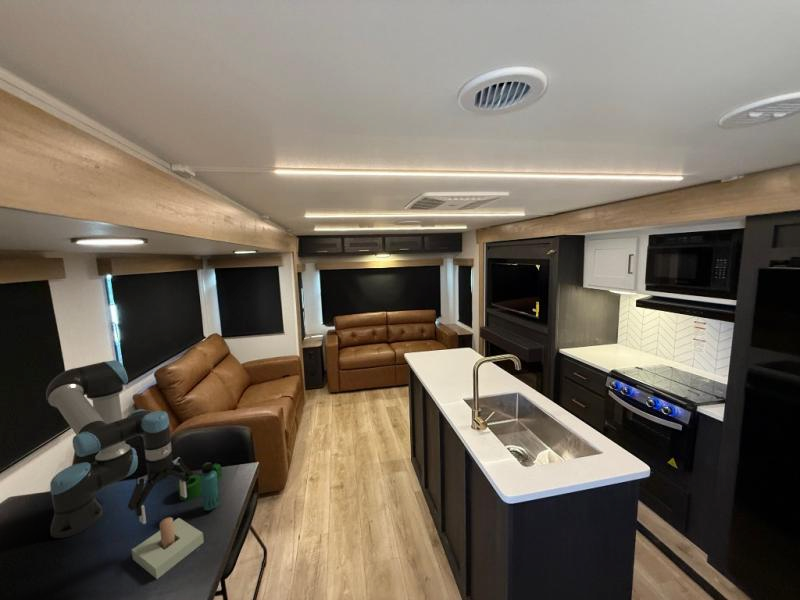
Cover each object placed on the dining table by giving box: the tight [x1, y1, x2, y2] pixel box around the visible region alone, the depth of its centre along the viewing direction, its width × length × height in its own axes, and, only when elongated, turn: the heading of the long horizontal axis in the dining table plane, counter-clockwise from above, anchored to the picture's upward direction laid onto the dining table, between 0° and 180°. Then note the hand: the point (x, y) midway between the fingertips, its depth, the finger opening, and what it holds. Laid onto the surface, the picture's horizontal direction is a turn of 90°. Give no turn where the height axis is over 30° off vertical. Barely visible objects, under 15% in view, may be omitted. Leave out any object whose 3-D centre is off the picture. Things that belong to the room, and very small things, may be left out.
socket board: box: [131, 517, 204, 580], centre depth 119 cm, size 16×16×4 cm
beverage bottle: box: [200, 463, 220, 511], centre depth 138 cm, size 6×7×20 cm
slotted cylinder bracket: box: [177, 461, 223, 501], centre depth 152 cm, size 18×9×6 cm, turn 167°
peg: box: [159, 516, 175, 550], centre depth 119 cm, size 4×4×12 cm
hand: (164, 508), depth 117 cm, fingers open, 13 cm apart
